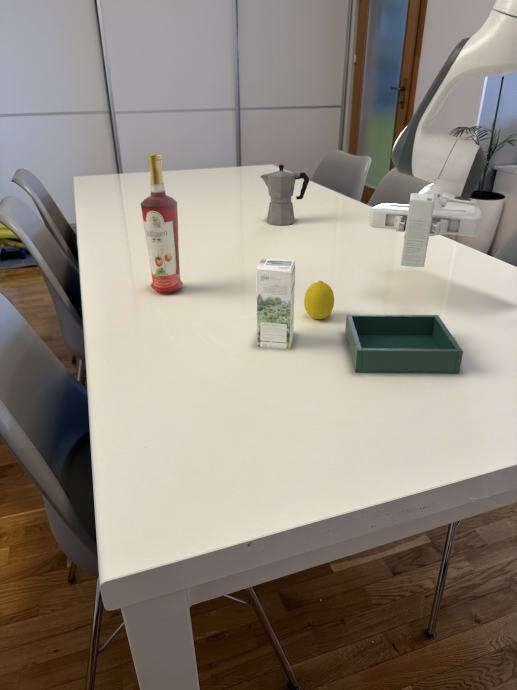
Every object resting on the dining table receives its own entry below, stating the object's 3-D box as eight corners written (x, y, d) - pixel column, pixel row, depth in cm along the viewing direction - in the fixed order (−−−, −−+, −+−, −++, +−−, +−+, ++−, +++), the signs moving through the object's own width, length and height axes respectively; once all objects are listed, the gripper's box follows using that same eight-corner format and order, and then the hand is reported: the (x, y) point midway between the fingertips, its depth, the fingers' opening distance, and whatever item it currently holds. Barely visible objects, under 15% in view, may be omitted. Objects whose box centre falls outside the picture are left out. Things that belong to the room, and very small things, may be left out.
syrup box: (294, 337, 91) (296, 258, 84) (290, 353, 85) (291, 269, 79) (262, 335, 91) (261, 256, 85) (256, 350, 86) (255, 268, 80)
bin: (434, 338, 90) (438, 314, 88) (458, 377, 78) (463, 351, 76) (344, 337, 90) (346, 314, 88) (354, 376, 78) (357, 350, 76)
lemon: (307, 328, 94) (309, 286, 91) (300, 316, 99) (301, 276, 95) (336, 325, 95) (339, 285, 91) (328, 314, 100) (330, 275, 96)
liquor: (188, 285, 115) (178, 153, 102) (177, 297, 109) (165, 157, 96) (157, 283, 116) (144, 152, 104) (145, 295, 110) (128, 157, 97)
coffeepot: (259, 225, 164) (259, 166, 156) (261, 219, 172) (260, 162, 164) (308, 225, 163) (310, 166, 155) (307, 219, 172) (309, 162, 163)
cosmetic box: (401, 256, 99) (408, 192, 93) (425, 258, 97) (434, 193, 92) (400, 266, 93) (407, 198, 88) (425, 268, 92) (435, 199, 87)
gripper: (379, 193, 105) (361, 206, 94) (486, 200, 97) (480, 215, 86) (376, 224, 108) (358, 240, 97) (480, 233, 100) (473, 252, 89)
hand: (416, 228), depth 92 cm, fingers closed on cosmetic box, 4 cm apart
